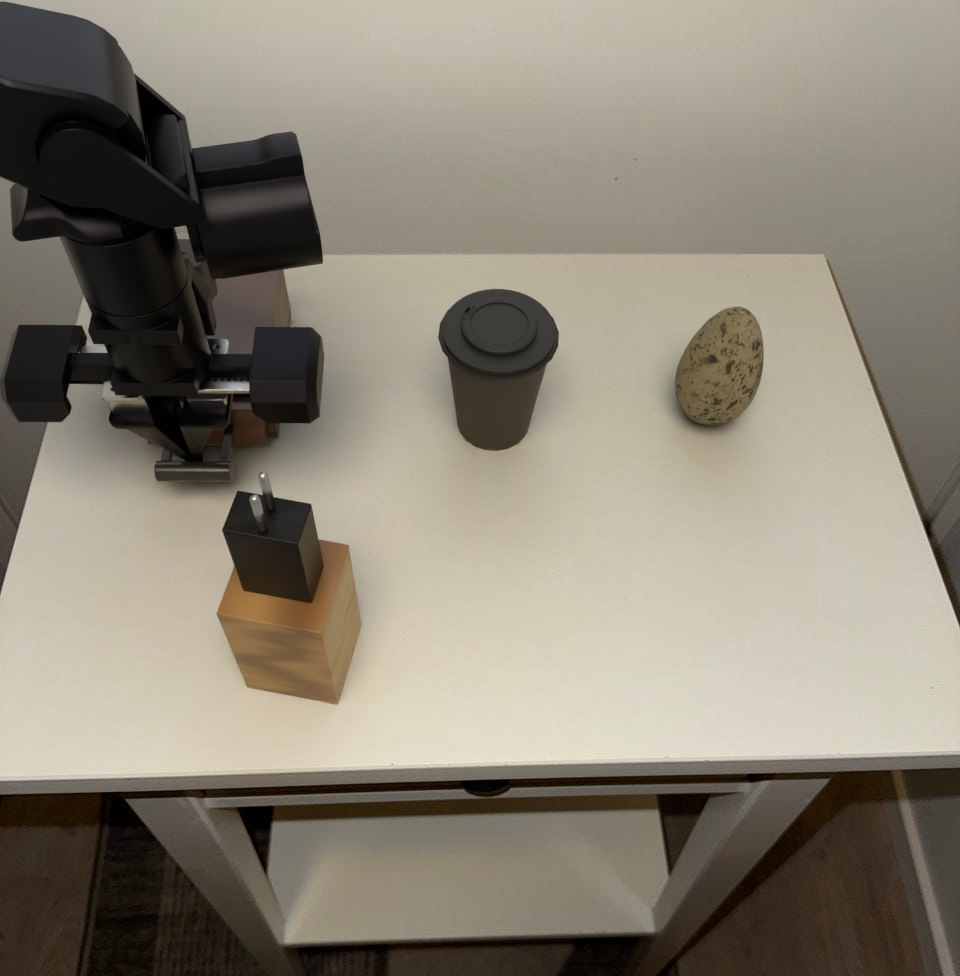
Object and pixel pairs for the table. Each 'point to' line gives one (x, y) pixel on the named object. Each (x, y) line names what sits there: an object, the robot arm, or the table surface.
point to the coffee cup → (496, 363)
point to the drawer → (238, 432)
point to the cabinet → (250, 312)
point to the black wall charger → (274, 544)
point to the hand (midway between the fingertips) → (197, 458)
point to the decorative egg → (721, 368)
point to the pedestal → (296, 632)
